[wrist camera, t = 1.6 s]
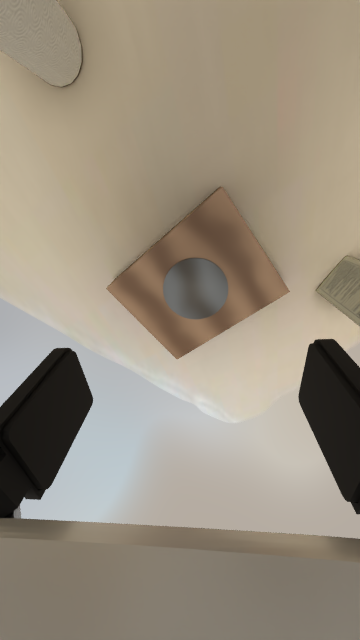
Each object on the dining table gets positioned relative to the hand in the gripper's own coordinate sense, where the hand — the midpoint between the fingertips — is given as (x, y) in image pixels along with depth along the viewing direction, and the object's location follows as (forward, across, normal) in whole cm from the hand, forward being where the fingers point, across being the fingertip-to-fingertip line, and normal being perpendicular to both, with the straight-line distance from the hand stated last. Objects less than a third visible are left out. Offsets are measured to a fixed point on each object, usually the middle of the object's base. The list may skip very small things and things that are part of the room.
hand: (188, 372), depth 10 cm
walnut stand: (+27, 0, +6) cm, 28 cm away
